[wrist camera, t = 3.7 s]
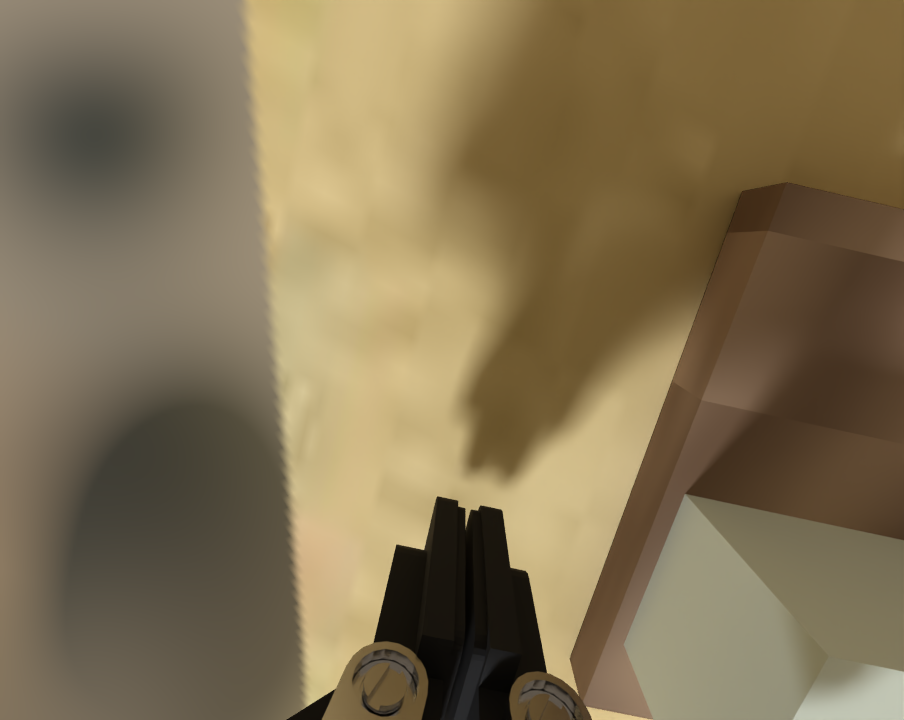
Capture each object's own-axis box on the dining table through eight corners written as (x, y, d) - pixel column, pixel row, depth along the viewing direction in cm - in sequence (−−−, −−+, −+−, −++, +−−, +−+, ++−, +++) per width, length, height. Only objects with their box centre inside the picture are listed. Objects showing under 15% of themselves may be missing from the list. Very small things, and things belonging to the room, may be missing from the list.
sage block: (907, 540, 11) (1191, 730, 7) (823, 685, 12) (1016, 922, 8) (685, 493, 11) (828, 655, 7) (623, 644, 12) (710, 863, 8)
